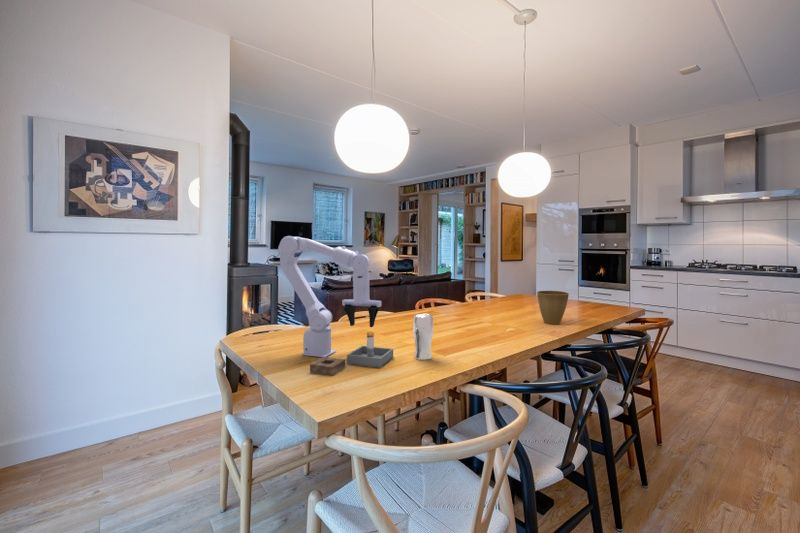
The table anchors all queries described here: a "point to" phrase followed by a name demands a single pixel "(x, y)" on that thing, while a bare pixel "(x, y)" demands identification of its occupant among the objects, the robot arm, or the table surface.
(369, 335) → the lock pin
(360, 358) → the tray
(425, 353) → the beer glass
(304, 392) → the table surface
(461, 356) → the table surface
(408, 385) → the table surface
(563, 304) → the plant pot
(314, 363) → the block
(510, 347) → the table surface
